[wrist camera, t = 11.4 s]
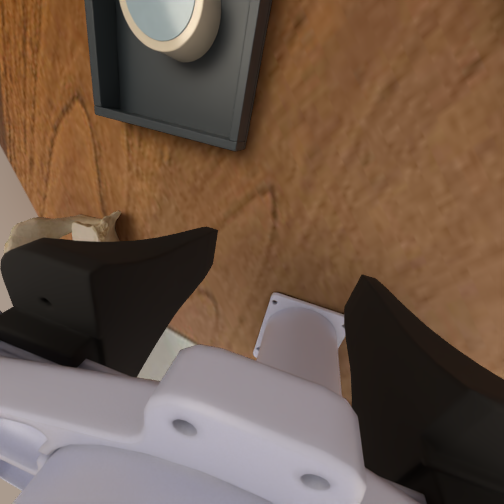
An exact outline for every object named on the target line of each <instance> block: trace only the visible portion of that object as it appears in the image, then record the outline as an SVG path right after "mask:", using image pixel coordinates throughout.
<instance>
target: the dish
mask: <svg viewBox="0 0 504 504" xmlns="http://www.w3.org/2000/svg"><path fill="white" fill-rule="evenodd" d="M119 2H120V5H121V9H122V12H123V15H124V17H125V19H126V22H127V23H128V25H129V27H130V29H131V30H132V32H133V33H134V35H135V36H136V37H137V38H138V39H139V40H140V41H141V42H142V43H143V44H144V45H146V46H147V47H149V48H151V49H153V50H155V51H157V52H159V53H161V54H163V55H165V56H167V57H169V58H171V59H173V60H175V61H178V62H192V61H195V60H197V59H199V58H200V57H202V56H203V55H204V54H205V53H206V52H207V51H208V50H209V49H210V47H211V46H212V44H213V42H214V40H215V38H216V36H217V33H218V29H219V26H220V19H221V0H119Z"/></svg>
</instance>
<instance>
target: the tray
mask: <svg viewBox="0 0 504 504" xmlns="http://www.w3.org/2000/svg"><path fill="white" fill-rule="evenodd" d="M84 1H85V11H86V22H87V33H88V43H89V54H90V65H91V76H92V86H93V97H94V105H95V106H94V108H95V114H96V115H99V116H103V117H107V118H111V119H115V120H118V121H122V122H126V123H130V124H133V125H137V126H141V127H145V128H149V129H152V130H156V131H160V132H164V133H168V134H171V135H175V136H179V137H183V138H187V139H190V140H194V141H198V142H202V143H206V144H209V145H213V146H217V147H221V148H224V149H228V150H232V151H238V150H243V149H245V147H246V141H247V136H248V130H249V125H250V119H251V114H252V108H253V103H254V97H255V92H256V86H257V81H258V75H259V70H260V65H261V59H262V54H263V48H264V43H265V37H266V32H267V26H268V21H269V15H270V10H271V4H272V0H221V19H220V26H219V29H218V33H217V36H216V38H215V40H214V42H213V44H212V46H211V47H210V49H209V50H208V51H207V52H206V53H205V54H204V55H203V56H202V57H200V58H199V59H197V60H195V61H192V62H178V61H175V60H173V59H171V58H169V57H167V56H165V55H163V54H161V53H159V52H157V51H155V50H153V49H151V48H149V47H147V46H146V45H144V44H143V43H142V42H141V41H140V40H139V39H138V38H137V37H136V36H135V35H134V33H133V32H132V30H131V29H130V27H129V25H128V23H127V22H126V19H125V17H124V15H123V12H122V9H121V5H120V2H119V0H84Z"/></svg>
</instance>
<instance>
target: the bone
mask: <svg viewBox="0 0 504 504" xmlns="http://www.w3.org/2000/svg"><path fill="white" fill-rule="evenodd" d="M120 214H121V211H119V210H118V211H116V212H114V213H112V214H111V215H109V216H105V217H104V218H103V219H99V218H94V217H88V216H84V215H82V214H80V215H77V216H70V217H64V218H57V219H50V218H44V217H37V218H32V219H29V220H27V221H24V222H21V223H18V224H17V225H15V226H14V227H13V228H12V230H11V233H10V237H9V239H8V241H7V242H6V244H5V248H4V254H5V253H6V252H8V251H9V250H11V249H14V248H17V247H19V246H22V245H24V244H27V243H30V242H32V241H35V240H37V239H40V238H44V237H45V238H54V239H60V238H61V237H63V236H65V235H67V234H69V233H71V232H72V238H73V240H75V241H96V242H115V241H120V240H119V238H118V236H117V234H116V231H115V222H116V220H117V219H118V217H119V216H120Z"/></svg>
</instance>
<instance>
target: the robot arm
mask: <svg viewBox="0 0 504 504" xmlns="http://www.w3.org/2000/svg"><path fill="white" fill-rule="evenodd" d="M217 233H218V230H216V229H213V228H209V227H201V228H197V229H193V230H189V231H185V232H181V233H177V234H172V235H168V236H163V237H158V238H152V239H144V240H135V241H115V242H96V241H75V240H65V239H54V238H45V237H44V238H40V239H37V240H35V241H32V242H30V243H27V244H24V245H22V246H19V247H17V248H14V249H11V250H9V251H8V252H6V253H5V254H4V256H3V257H2V259H1V273H2V276H3V280H4V282H5V285H6V288H7V290H8V293H9V296H10V299H11V301H12V304H13V306H14V307H12V308H10V309H9V310H7V311H5V312H3V313H2V312H1V311H0V478H1V479H3V480H4V481H6V482H8V483H9V484H11V485H13V486H15V487H16V488H18V489H20V490H21V491H22V492H21V493H20V494H19V496H18V497H17V498H16V499H15V501H14V502H13V503H12V504H504V380H503V379H502V378H500V377H498V376H497V375H495V374H493V373H492V372H490V371H489V370H487V369H485V368H484V367H482V366H481V365H479V364H478V363H476V362H475V361H473V360H472V359H470V358H469V357H467V356H466V355H464V354H463V353H461V352H460V351H459V350H457V349H456V348H454V347H453V346H452V345H450V344H449V343H448V342H446V341H445V340H444V339H442V338H441V337H440V336H439V335H437V334H436V333H435V332H433V331H432V330H431V329H430V328H429V327H427V326H426V325H425V324H424V323H423V322H422V321H420V320H419V319H418V318H417V317H416V316H415V315H414V314H413V313H412V312H410V311H409V310H408V309H407V308H406V307H405V306H404V305H403V304H402V303H401V302H400V301H399V300H398V299H397V298H396V297H395V296H394V295H393V294H392V293H391V292H390V291H389V290H388V289H387V288H386V287H385V286H384V285H383V284H381V283H380V282H379V281H378V280H377V279H375V278H372V277H369V276H366V275H361V277H360V279H359V281H358V283H357V285H356V286H355V288H354V290H353V292H352V294H351V296H350V298H349V300H348V301H347V303H346V305H345V309H344V314H341V313H338V312H335V311H332V310H329V309H326V308H323V307H320V306H317V305H314V304H311V303H308V302H305V301H302V300H299V299H296V298H292V297H289V296H286V295H283V294H280V293H277V292H275V293H273V294H272V295H271V298H270V302H269V305H268V308H267V311H266V314H265V317H264V320H263V323H262V326H261V330H260V333H259V336H258V339H257V342H256V345H255V348H254V351H253V355H254V356H255V357H256V358H257V360H256V361H255V360H253V359H250V358H247V357H244V356H242V355H239V354H236V353H234V352H231V351H228V350H225V349H223V348H219V347H213V346H207V345H201V344H200V345H194V346H191V347H188V348H185V349H182V350H180V351H179V353H178V355H177V356H176V358H175V359H174V361H173V362H172V364H171V366H170V367H169V369H168V370H167V372H166V373H165V375H164V377H163V378H162V380H161V381H156V380H149V379H143V378H137V376H138V374H139V372H140V370H141V369H142V367H143V365H144V363H145V362H146V360H147V358H148V357H149V355H150V353H151V352H152V350H153V348H154V347H155V345H156V343H157V342H158V340H159V338H160V337H161V335H162V334H163V332H164V330H165V329H166V327H167V326H168V324H169V323H170V321H171V320H172V318H173V317H174V315H175V314H176V312H177V311H178V310H179V308H180V307H181V306H182V305H183V304H184V302H185V301H186V300H187V299H188V298H189V296H190V295H191V294H192V293H193V292H194V290H195V289H196V288H197V287H198V285H199V284H200V283H201V282H202V281H203V279H204V278H205V276H206V275H207V273H208V271H209V270H210V268H211V266H212V265H213V259H214V253H215V246H216V240H217ZM273 300H275V301H277V302H274V301H273ZM343 324H344V325H343ZM345 336H346V342H347V349H348V356H349V363H350V371H351V389H352V407H351V406H350V404H349V402H348V401H347V400H346V399H345V398H343V397H342V393H341V381H340V369H339V357H338V348H339V346H340V344H341V343H342V341H343V339H344V337H345ZM258 347H259V348H258Z"/></svg>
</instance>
